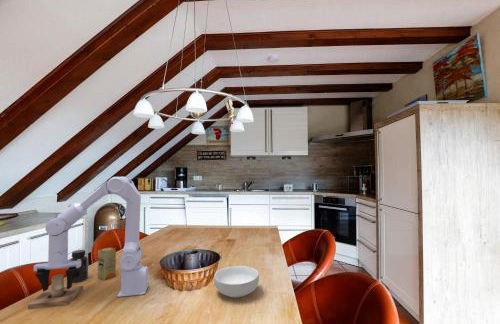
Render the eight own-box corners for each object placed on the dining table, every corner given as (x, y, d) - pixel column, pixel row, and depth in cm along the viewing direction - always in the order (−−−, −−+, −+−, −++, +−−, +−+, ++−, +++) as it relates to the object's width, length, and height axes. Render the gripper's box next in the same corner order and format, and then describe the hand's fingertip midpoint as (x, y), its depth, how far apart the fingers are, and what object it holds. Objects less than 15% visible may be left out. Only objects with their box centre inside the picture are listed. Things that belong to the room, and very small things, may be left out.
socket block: (83, 289, 101) (83, 285, 101) (68, 304, 89) (68, 300, 89) (48, 292, 99) (48, 288, 99) (27, 309, 87) (27, 304, 87)
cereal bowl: (218, 283, 106) (217, 265, 106) (258, 283, 105) (258, 265, 105) (210, 304, 89) (210, 283, 89) (259, 304, 88) (258, 283, 89)
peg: (65, 295, 96) (65, 273, 96) (60, 300, 93) (61, 277, 93) (54, 297, 95) (54, 274, 96) (49, 301, 92) (49, 278, 92)
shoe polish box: (104, 280, 110) (104, 251, 110) (97, 278, 112) (98, 250, 113) (115, 276, 114) (115, 248, 114) (109, 274, 116) (109, 247, 117)
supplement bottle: (84, 275, 116) (85, 248, 116) (90, 279, 111) (90, 250, 112) (66, 280, 110) (66, 251, 111) (71, 284, 106) (72, 254, 106)
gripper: (85, 246, 100) (84, 282, 100) (42, 249, 97) (41, 286, 97) (76, 252, 93) (76, 290, 93) (30, 255, 90) (29, 294, 90)
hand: (57, 289), depth 94 cm, fingers open, 7 cm apart
